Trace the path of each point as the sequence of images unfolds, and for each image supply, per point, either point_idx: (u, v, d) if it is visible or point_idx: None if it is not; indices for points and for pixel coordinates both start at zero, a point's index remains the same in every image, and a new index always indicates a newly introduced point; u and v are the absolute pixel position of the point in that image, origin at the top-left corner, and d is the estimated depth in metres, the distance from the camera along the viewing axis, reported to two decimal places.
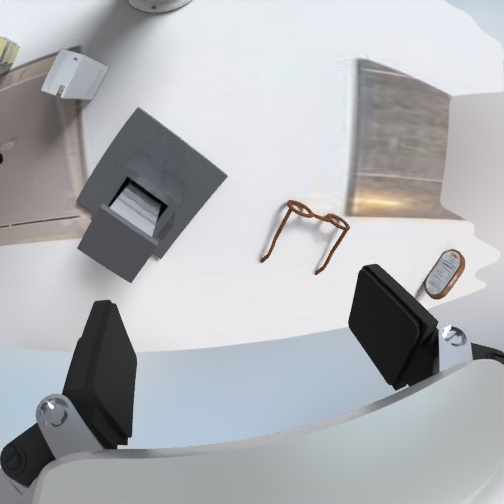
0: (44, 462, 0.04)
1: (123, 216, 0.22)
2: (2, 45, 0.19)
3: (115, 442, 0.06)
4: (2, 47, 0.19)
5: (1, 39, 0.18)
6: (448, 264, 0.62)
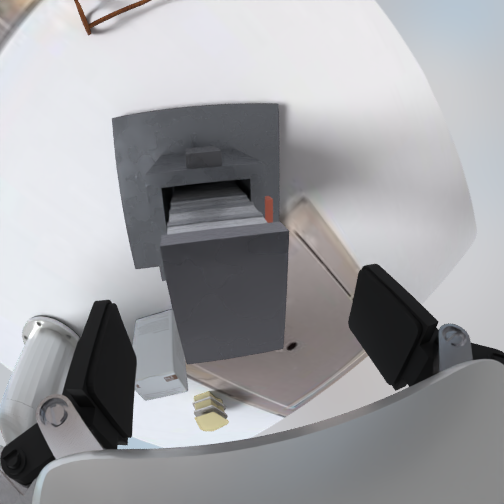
0: (44, 462, 0.04)
1: None
2: (200, 418, 0.43)
3: (115, 442, 0.06)
4: (202, 417, 0.43)
5: (198, 422, 0.43)
6: None
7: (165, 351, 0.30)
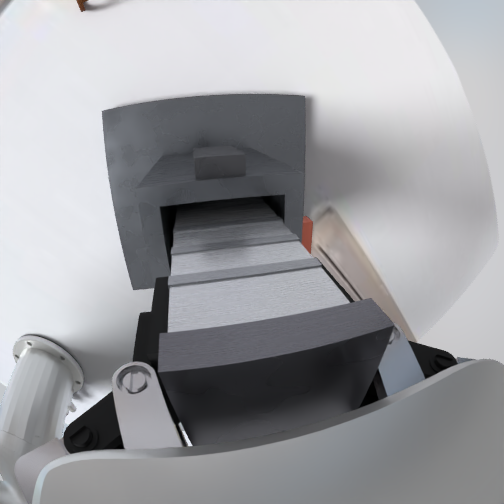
0: None
1: None
2: None
3: None
4: None
5: None
6: None
7: None
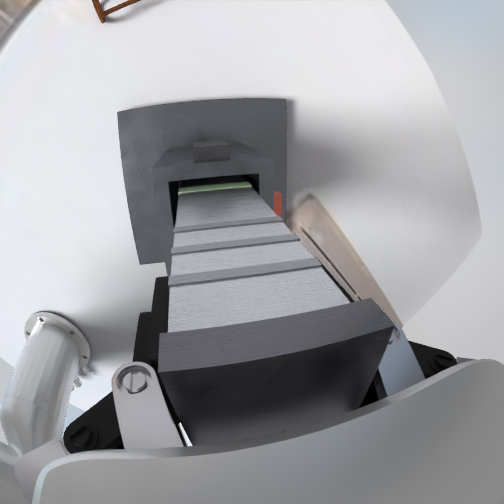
0: None
1: None
2: None
3: None
4: None
5: None
6: None
7: None
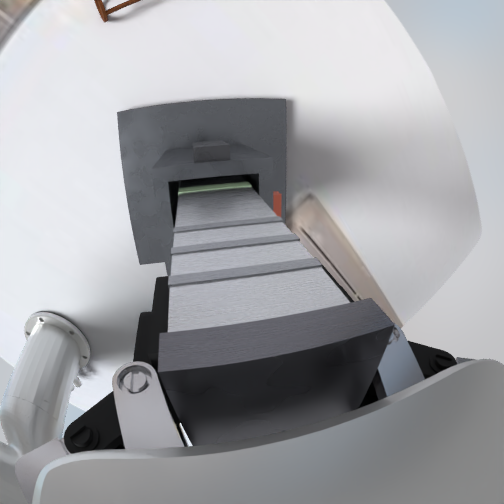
0: None
1: None
2: None
3: None
4: None
5: None
6: None
7: None
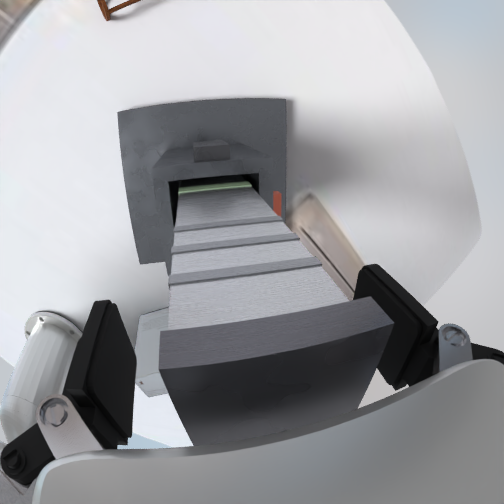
0: (44, 462, 0.04)
1: None
2: None
3: (115, 442, 0.06)
4: None
5: None
6: None
7: None
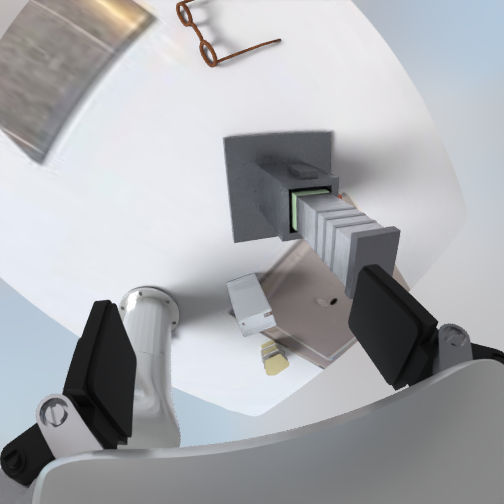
0: (44, 462, 0.04)
1: (346, 271, 0.24)
2: (269, 361, 0.60)
3: (115, 442, 0.06)
4: (270, 359, 0.60)
5: (266, 365, 0.61)
6: None
7: (260, 298, 0.47)
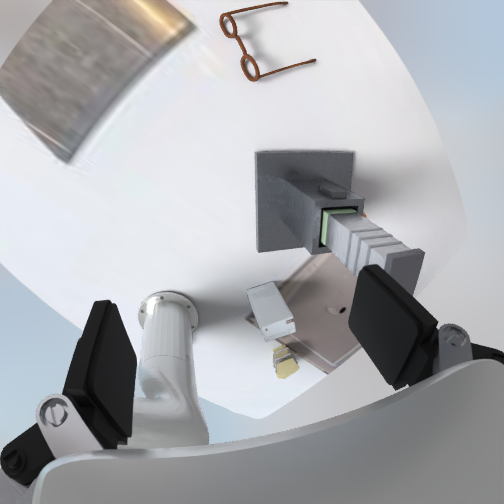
0: (44, 462, 0.04)
1: None
2: (281, 364, 0.62)
3: (115, 442, 0.06)
4: (282, 363, 0.62)
5: (277, 368, 0.63)
6: None
7: (281, 305, 0.49)
